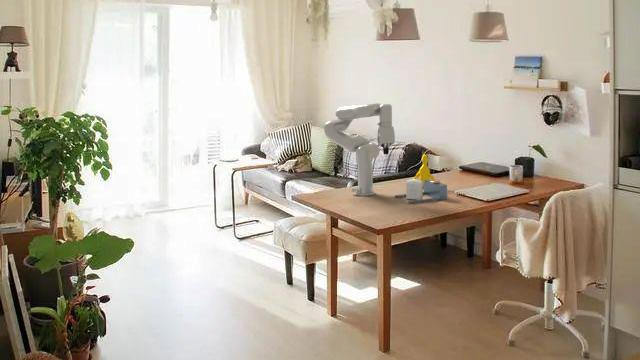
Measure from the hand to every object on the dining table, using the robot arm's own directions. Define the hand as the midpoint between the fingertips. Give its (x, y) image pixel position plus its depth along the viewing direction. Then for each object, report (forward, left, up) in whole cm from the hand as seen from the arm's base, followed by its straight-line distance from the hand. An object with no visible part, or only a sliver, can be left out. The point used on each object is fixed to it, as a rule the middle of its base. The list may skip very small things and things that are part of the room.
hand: (386, 154), depth 359 cm
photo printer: (+13, -13, -27) cm, 33 cm away
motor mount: (+16, -14, -27) cm, 35 cm away
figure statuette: (+35, +14, -27) cm, 47 cm away
